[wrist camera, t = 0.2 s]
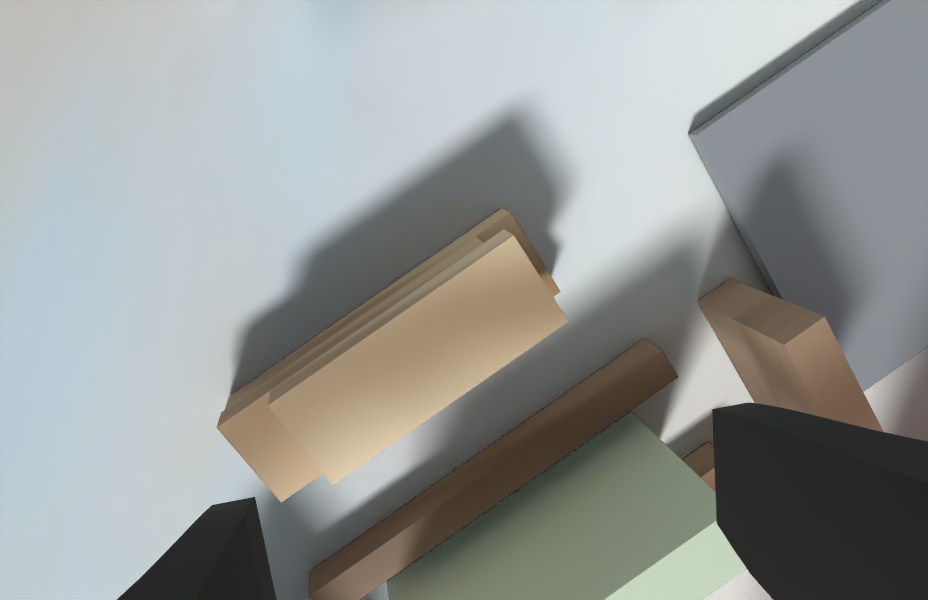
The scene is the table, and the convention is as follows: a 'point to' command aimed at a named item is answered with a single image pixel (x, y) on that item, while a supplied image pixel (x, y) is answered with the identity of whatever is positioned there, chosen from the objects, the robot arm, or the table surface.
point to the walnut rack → (599, 405)
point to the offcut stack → (395, 359)
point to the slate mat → (839, 183)
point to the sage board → (588, 533)
